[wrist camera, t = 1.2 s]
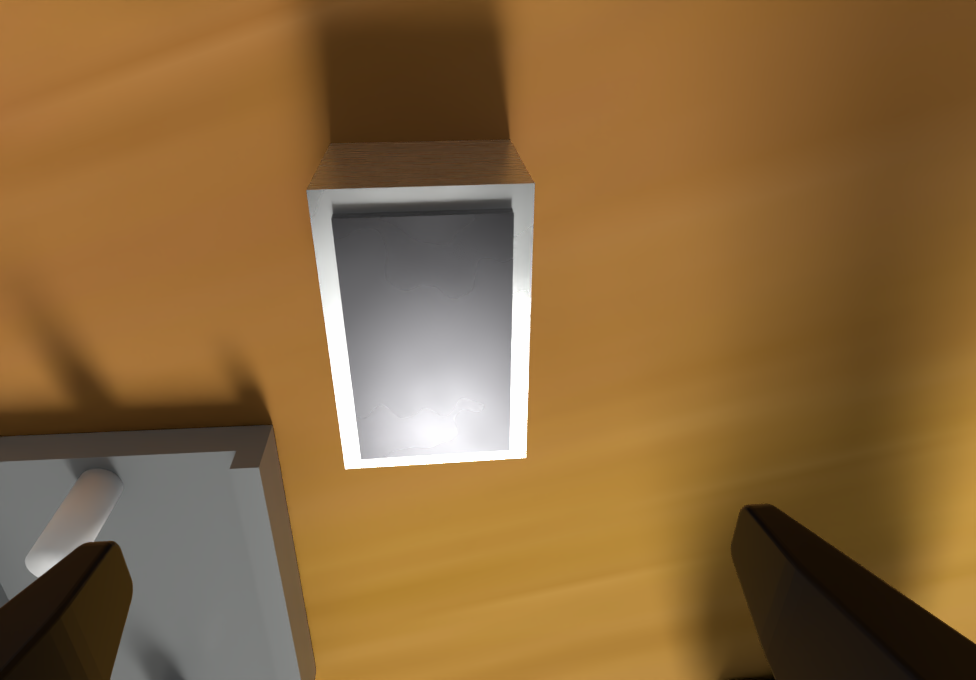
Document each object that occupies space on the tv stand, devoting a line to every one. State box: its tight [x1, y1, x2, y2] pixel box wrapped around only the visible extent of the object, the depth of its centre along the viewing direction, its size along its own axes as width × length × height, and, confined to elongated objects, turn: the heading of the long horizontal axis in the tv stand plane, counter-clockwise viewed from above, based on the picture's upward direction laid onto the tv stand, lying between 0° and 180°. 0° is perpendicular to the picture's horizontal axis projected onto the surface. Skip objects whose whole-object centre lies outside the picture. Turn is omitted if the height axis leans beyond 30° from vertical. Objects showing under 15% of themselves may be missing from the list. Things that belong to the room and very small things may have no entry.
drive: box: [306, 139, 535, 469], centre depth 16 cm, size 7×4×4 cm, turn 0°
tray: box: [0, 425, 316, 680], centre depth 21 cm, size 12×10×4 cm
